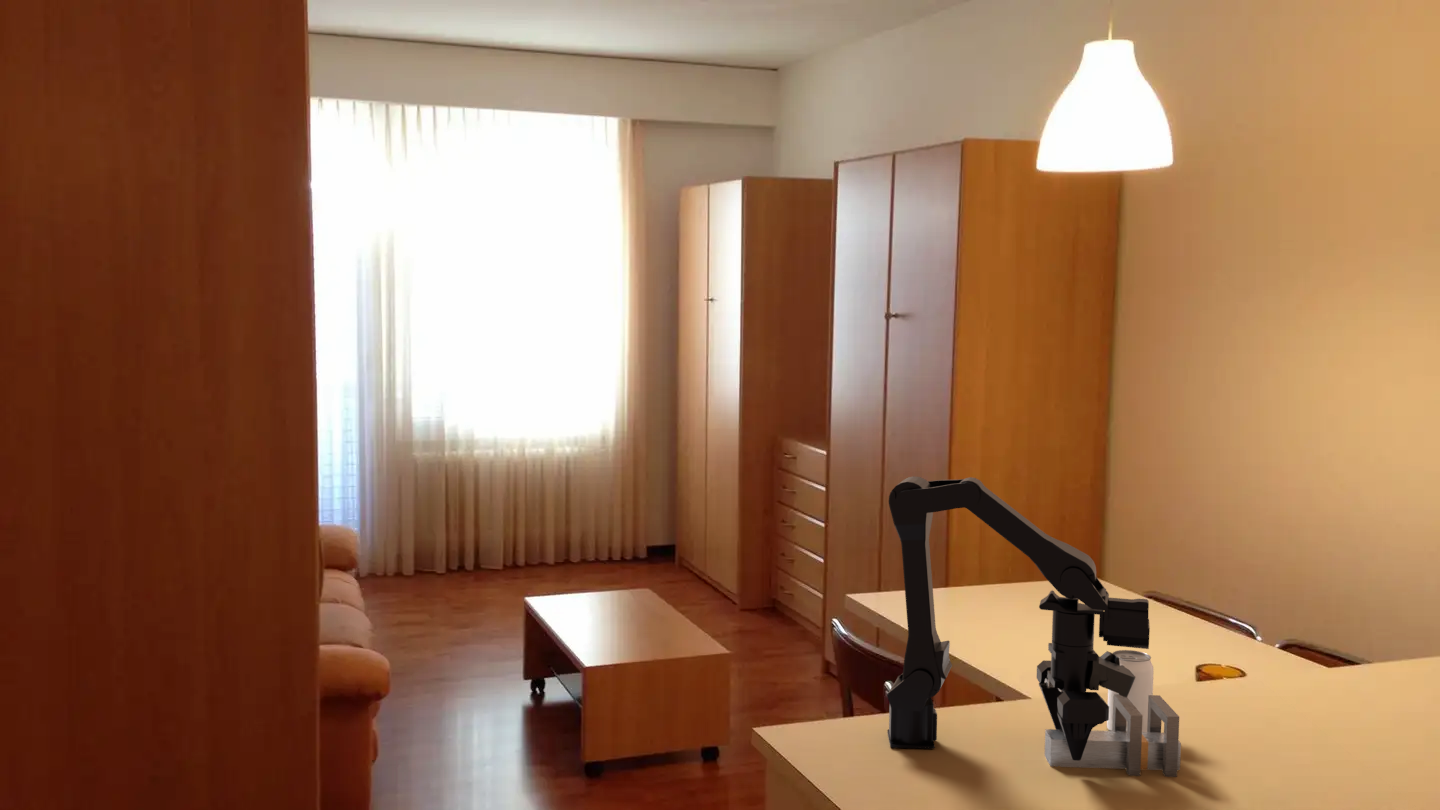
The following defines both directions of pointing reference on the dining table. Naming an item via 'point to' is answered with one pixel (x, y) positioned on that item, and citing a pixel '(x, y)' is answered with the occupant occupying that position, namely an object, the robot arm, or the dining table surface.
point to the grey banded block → (1106, 750)
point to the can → (1135, 684)
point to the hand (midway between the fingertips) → (1068, 747)
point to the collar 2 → (1165, 731)
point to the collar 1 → (1129, 731)
